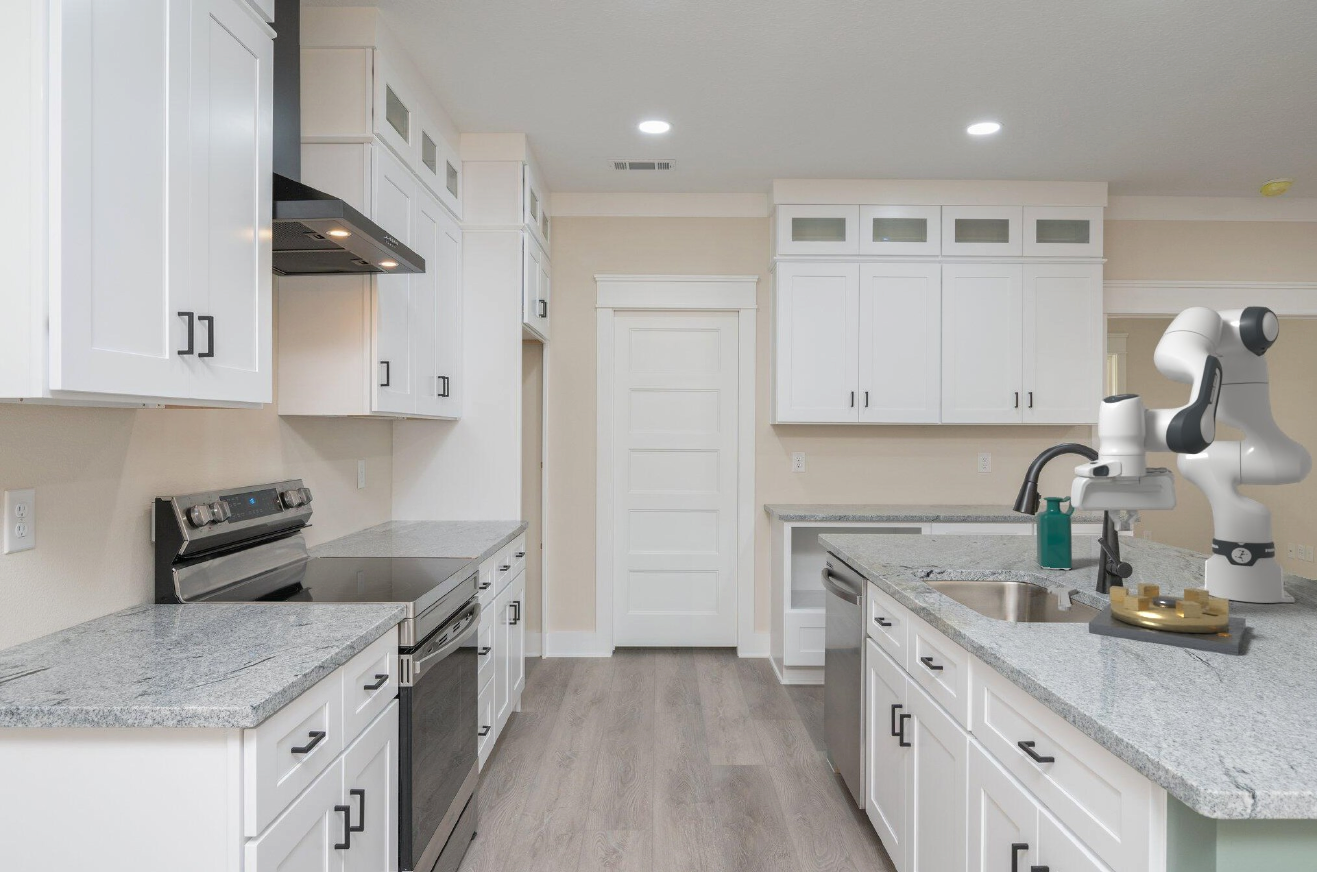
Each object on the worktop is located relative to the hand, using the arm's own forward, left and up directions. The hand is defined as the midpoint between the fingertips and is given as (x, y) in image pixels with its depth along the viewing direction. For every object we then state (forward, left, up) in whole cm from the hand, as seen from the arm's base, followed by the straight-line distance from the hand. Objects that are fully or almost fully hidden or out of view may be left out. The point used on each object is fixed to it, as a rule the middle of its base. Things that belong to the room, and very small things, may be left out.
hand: (1123, 530), depth 155 cm
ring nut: (+3, +8, -18) cm, 20 cm away
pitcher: (-59, -27, -20) cm, 68 cm away
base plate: (+3, +8, -20) cm, 22 cm away
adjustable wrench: (-15, -16, -21) cm, 30 cm away
